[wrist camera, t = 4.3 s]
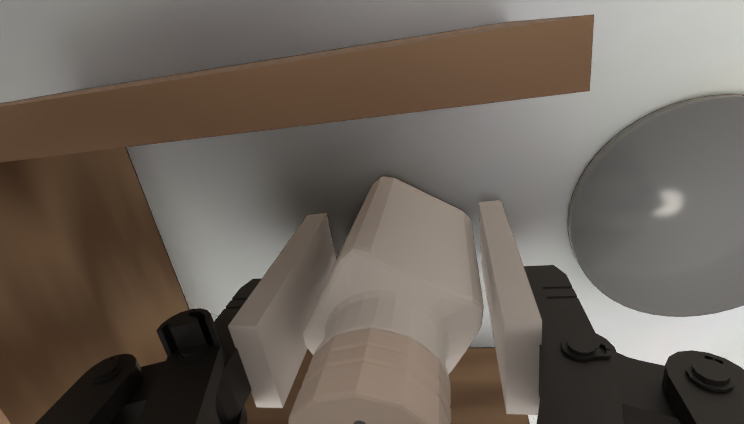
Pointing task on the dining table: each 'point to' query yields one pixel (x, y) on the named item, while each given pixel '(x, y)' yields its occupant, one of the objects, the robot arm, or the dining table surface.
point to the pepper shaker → (393, 314)
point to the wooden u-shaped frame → (199, 120)
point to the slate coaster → (667, 211)
